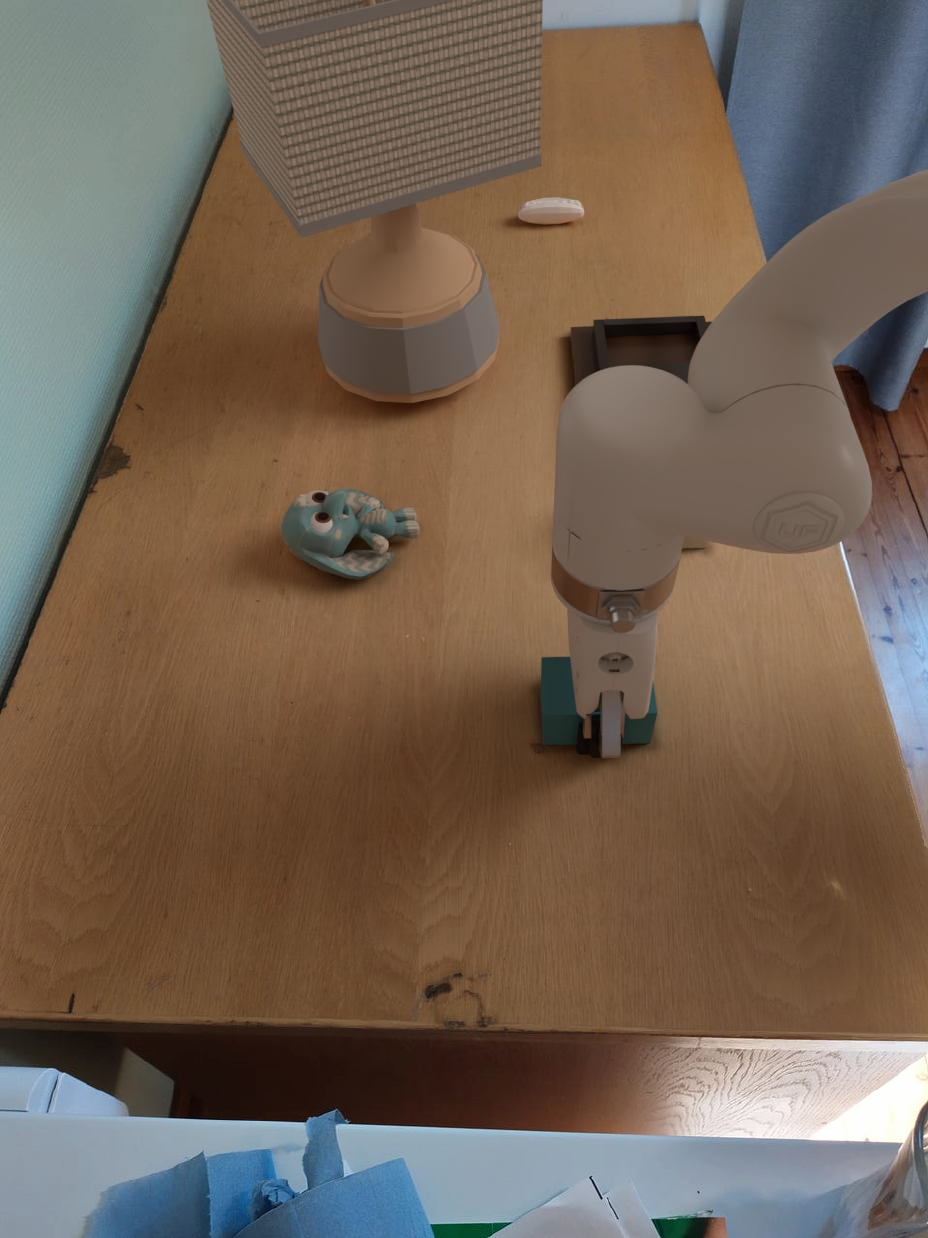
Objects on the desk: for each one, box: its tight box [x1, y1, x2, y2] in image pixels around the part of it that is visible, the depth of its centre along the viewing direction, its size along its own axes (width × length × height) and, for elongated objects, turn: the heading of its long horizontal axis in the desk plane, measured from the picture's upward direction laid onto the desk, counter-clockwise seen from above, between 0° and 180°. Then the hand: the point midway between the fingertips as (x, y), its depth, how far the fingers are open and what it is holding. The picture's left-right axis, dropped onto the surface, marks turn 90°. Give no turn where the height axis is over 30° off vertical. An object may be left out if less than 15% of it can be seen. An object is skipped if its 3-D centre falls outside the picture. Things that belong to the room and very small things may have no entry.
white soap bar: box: [517, 196, 585, 226], centre depth 108 cm, size 3×8×3 cm, turn 88°
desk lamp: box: [206, 0, 544, 404], centre depth 80 cm, size 22×19×37 cm
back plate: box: [569, 315, 712, 387], centre depth 89 cm, size 16×20×3 cm
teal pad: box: [540, 656, 658, 746], centre depth 66 cm, size 8×5×4 cm, turn 89°
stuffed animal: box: [280, 488, 421, 581], centre depth 77 cm, size 11×7×12 cm
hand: (594, 711), depth 68 cm, fingers open, 5 cm apart
